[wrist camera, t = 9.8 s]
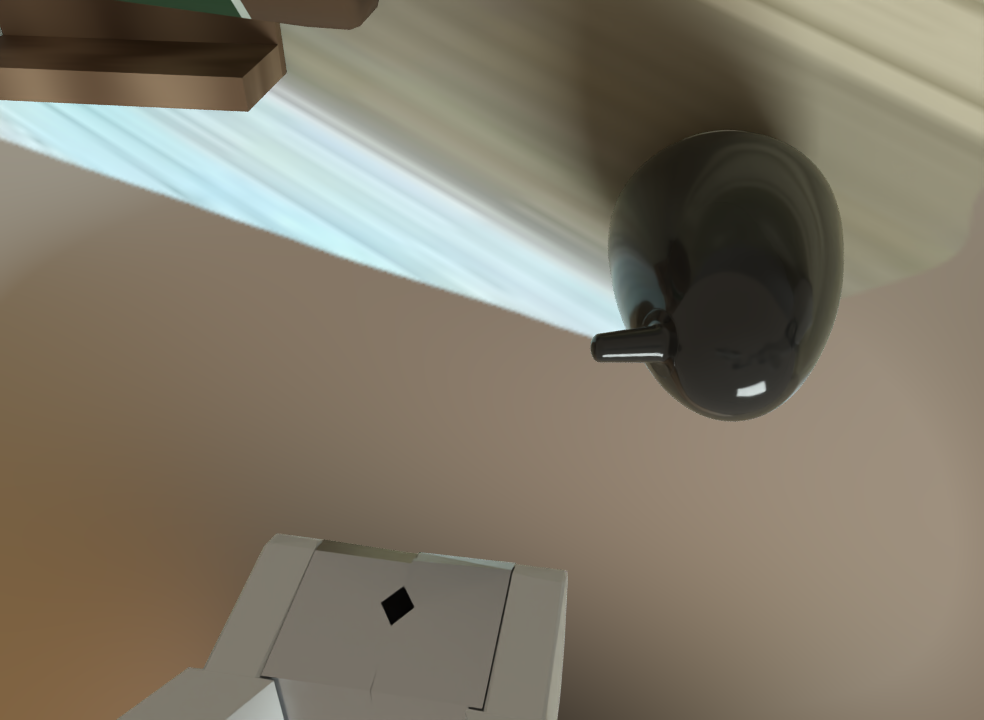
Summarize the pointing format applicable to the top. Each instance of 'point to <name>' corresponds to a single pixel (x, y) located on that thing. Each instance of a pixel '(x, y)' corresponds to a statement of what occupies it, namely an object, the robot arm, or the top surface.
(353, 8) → the beer bottle
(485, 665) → the robot arm
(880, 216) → the top surface
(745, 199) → the dark grey oval piece
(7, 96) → the u rest
